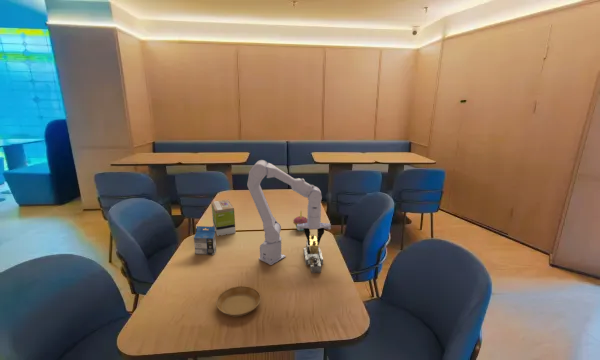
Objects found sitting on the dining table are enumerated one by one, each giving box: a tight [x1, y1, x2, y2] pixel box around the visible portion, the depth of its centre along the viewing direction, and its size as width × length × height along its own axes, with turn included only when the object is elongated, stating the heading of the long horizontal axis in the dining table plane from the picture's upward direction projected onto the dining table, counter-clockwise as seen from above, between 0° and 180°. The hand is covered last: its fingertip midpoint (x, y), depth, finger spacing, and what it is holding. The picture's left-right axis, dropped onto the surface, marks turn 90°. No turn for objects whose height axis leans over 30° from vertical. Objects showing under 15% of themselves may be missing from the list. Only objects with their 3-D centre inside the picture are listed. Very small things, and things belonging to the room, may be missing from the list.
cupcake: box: [292, 210, 307, 232], centre depth 155 cm, size 9×8×12 cm
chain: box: [303, 240, 324, 274], centre depth 125 cm, size 23×8×4 cm, turn 4°
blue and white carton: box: [193, 225, 217, 256], centre depth 128 cm, size 9×4×12 cm, turn 88°
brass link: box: [309, 234, 320, 254], centre depth 125 cm, size 9×4×5 cm, turn 4°
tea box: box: [210, 199, 236, 237], centre depth 153 cm, size 15×10×15 cm, turn 25°
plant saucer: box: [215, 285, 262, 317], centre depth 95 cm, size 15×15×3 cm
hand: (313, 243), depth 124 cm, fingers closed on brass link, 3 cm apart
